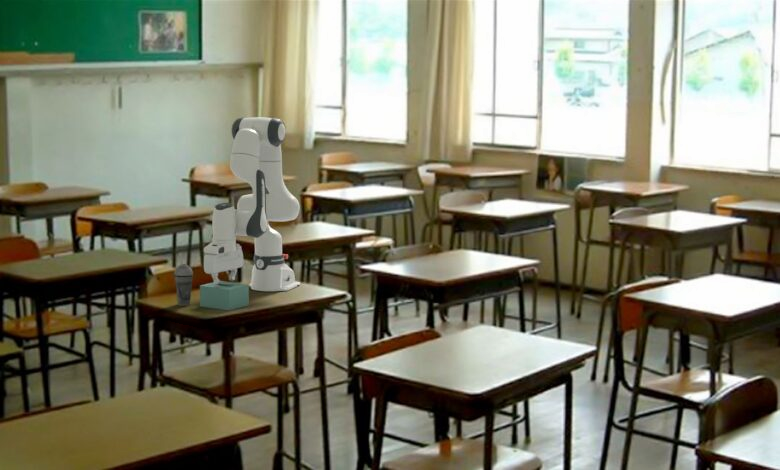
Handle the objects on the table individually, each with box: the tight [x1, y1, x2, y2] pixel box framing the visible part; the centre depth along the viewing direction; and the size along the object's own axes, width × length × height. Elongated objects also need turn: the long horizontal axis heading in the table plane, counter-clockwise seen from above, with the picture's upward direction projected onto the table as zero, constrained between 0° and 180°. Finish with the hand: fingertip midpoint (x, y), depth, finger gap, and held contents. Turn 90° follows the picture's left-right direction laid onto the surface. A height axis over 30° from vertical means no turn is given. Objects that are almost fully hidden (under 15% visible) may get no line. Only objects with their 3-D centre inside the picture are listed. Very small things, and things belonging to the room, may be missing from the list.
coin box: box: [199, 280, 250, 311], centre depth 460 cm, size 12×14×8 cm
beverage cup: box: [173, 252, 194, 307], centre depth 460 cm, size 7×7×20 cm
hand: (224, 282), depth 459 cm, fingers open, 8 cm apart
